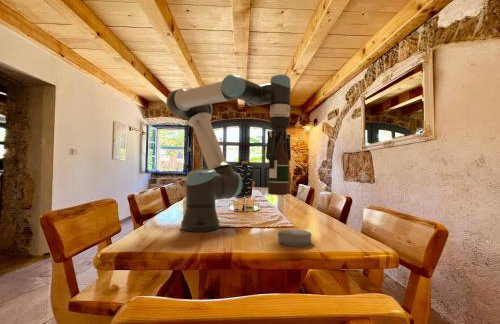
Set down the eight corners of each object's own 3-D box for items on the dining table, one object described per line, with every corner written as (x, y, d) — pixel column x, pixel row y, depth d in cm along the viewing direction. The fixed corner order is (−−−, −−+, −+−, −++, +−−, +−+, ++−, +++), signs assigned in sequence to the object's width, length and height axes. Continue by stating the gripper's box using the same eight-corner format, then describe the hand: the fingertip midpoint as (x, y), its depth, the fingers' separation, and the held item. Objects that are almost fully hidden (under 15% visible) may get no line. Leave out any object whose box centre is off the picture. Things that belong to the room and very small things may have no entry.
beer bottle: (289, 195, 99) (291, 129, 99) (268, 194, 99) (269, 129, 99) (287, 193, 107) (288, 132, 107) (267, 192, 107) (268, 131, 107)
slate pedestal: (271, 242, 90) (271, 233, 90) (287, 236, 99) (287, 227, 99) (302, 249, 83) (302, 238, 83) (316, 241, 92) (316, 231, 92)
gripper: (274, 111, 93) (273, 178, 92) (300, 120, 109) (299, 177, 109) (256, 113, 97) (255, 177, 97) (284, 121, 114) (282, 176, 114)
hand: (278, 177), depth 103 cm, fingers closed on beer bottle, 8 cm apart
